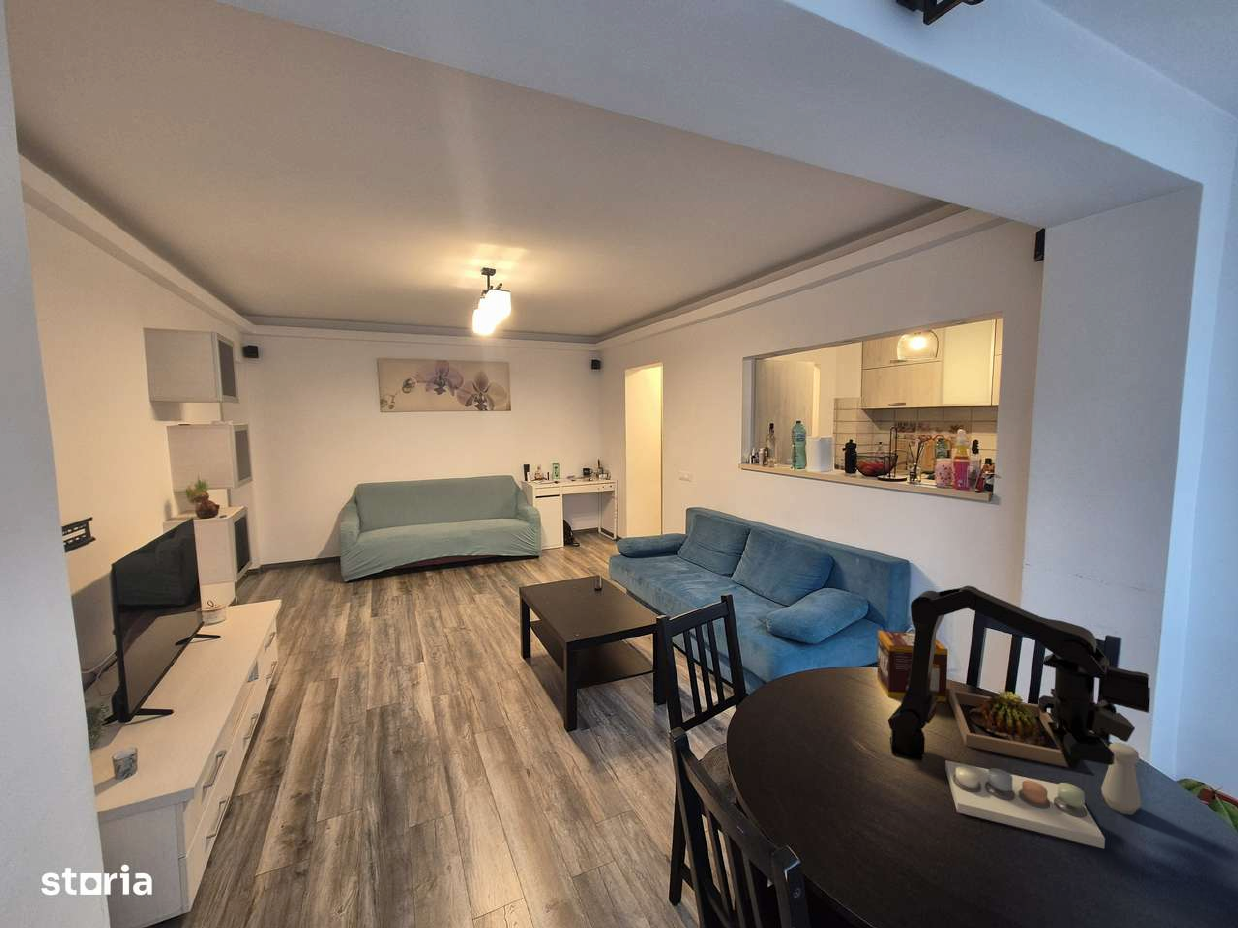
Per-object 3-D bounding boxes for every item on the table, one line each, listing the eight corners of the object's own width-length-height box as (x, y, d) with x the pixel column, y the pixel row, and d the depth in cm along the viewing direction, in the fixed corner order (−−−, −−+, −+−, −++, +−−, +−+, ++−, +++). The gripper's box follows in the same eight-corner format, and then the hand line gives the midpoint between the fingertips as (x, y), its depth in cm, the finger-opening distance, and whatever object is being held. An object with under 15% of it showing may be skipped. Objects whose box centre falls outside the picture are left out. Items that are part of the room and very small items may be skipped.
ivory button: (957, 785, 107) (957, 776, 107) (953, 772, 111) (954, 764, 111) (980, 790, 106) (980, 781, 106) (975, 777, 109) (976, 769, 109)
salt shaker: (1148, 820, 100) (1153, 758, 99) (1114, 816, 102) (1118, 754, 100) (1125, 798, 106) (1129, 739, 105) (1093, 794, 107) (1097, 736, 106)
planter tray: (965, 746, 124) (966, 734, 123) (949, 699, 144) (949, 689, 144) (1076, 768, 115) (1076, 755, 115) (1041, 716, 135) (1042, 705, 135)
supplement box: (876, 679, 156) (877, 629, 155) (931, 683, 153) (933, 633, 152) (887, 697, 146) (888, 644, 145) (946, 702, 143) (948, 648, 141)
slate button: (990, 787, 105) (991, 778, 105) (986, 774, 109) (986, 766, 108) (1014, 792, 103) (1015, 783, 103) (1008, 779, 107) (1009, 770, 107)
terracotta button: (1025, 800, 103) (1025, 791, 103) (1019, 787, 106) (1019, 778, 106) (1050, 806, 101) (1050, 797, 101) (1043, 792, 105) (1043, 783, 105)
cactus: (1063, 735, 127) (1065, 698, 127) (1035, 758, 119) (1037, 718, 118) (985, 703, 142) (987, 669, 141) (956, 721, 134) (957, 686, 133)
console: (957, 811, 103) (957, 800, 103) (945, 768, 116) (945, 758, 116) (1104, 848, 94) (1104, 836, 94) (1073, 796, 107) (1074, 785, 107)
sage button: (1061, 803, 100) (1062, 793, 100) (1054, 789, 104) (1054, 780, 104) (1088, 809, 99) (1088, 799, 98) (1079, 795, 102) (1080, 786, 102)
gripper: (1155, 727, 88) (1151, 812, 89) (1105, 677, 105) (1103, 749, 106) (1072, 714, 92) (1070, 795, 93) (1038, 668, 109) (1036, 737, 110)
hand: (1071, 767), depth 101 cm, fingers closed
